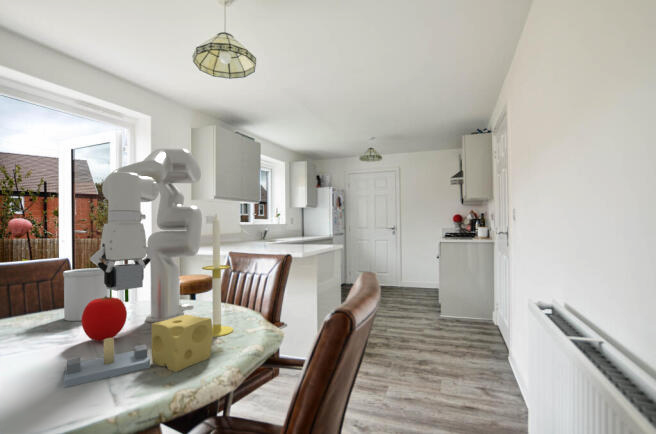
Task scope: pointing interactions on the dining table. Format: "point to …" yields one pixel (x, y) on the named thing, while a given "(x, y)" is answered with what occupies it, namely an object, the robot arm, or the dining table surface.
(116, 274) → the brushed steel block
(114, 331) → the tomato
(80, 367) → the stand
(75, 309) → the utensil holder
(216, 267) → the yellow disc stand
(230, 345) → the dining table surface
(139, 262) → the robot arm
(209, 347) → the cheese
